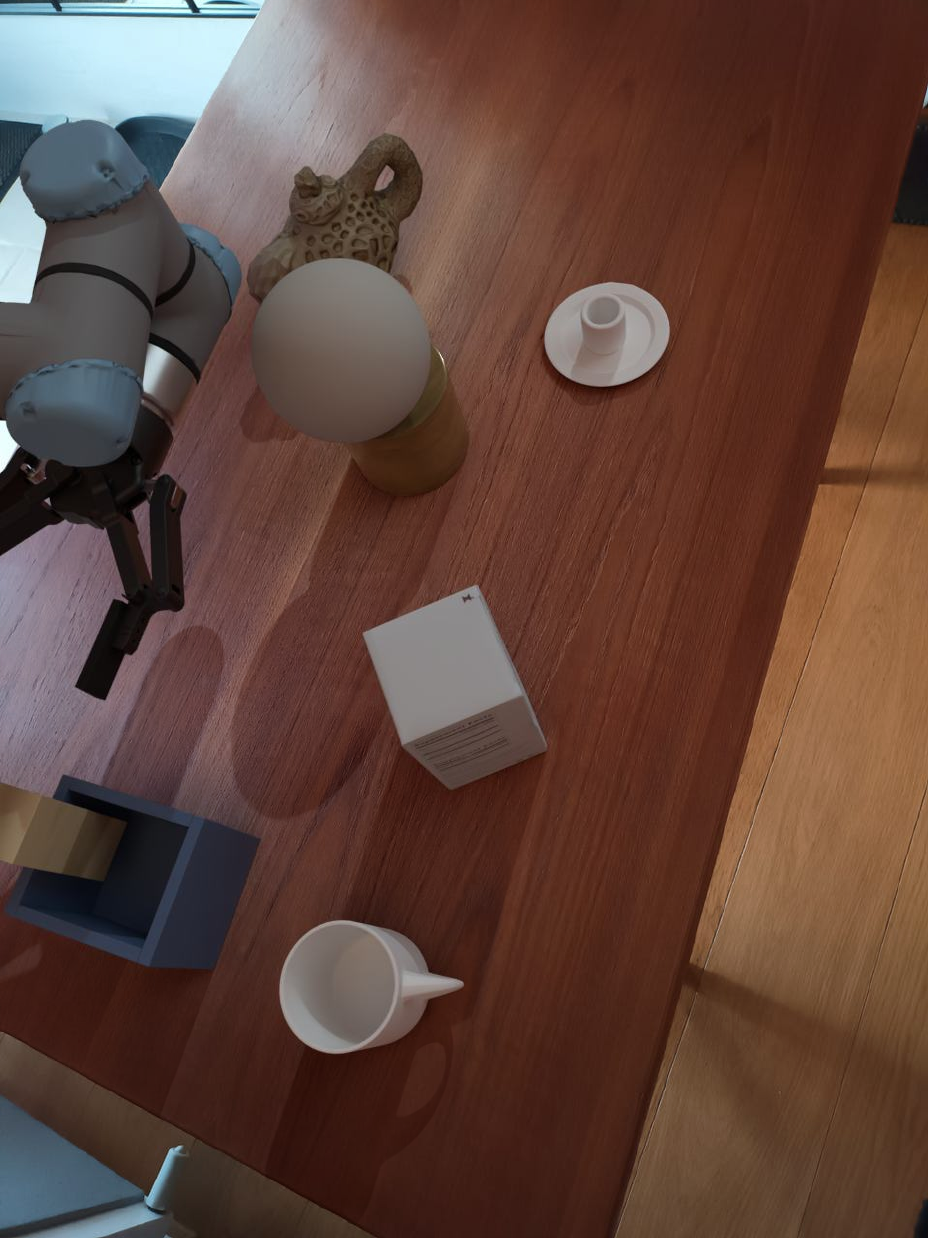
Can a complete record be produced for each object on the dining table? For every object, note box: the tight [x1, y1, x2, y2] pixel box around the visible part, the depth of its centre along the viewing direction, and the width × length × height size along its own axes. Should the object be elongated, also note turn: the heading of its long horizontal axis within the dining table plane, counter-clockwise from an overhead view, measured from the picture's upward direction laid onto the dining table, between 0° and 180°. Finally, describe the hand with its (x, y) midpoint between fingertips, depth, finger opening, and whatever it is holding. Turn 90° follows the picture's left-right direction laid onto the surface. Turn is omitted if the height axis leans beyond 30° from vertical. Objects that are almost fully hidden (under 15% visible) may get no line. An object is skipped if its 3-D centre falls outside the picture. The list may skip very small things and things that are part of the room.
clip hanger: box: [0, 781, 127, 882], centre depth 74 cm, size 6×5×12 cm
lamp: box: [250, 258, 470, 497], centre depth 81 cm, size 15×14×25 cm
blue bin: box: [3, 773, 261, 970], centre depth 77 cm, size 13×11×11 cm
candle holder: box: [543, 281, 671, 388], centre depth 91 cm, size 12×12×4 cm
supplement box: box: [361, 584, 548, 791], centre depth 74 cm, size 10×9×17 cm
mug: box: [279, 919, 465, 1055], centre depth 70 cm, size 9×12×11 cm
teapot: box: [246, 132, 424, 307], centre depth 95 cm, size 21×12×15 cm, turn 129°
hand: (8, 671), depth 66 cm, fingers open, 13 cm apart
